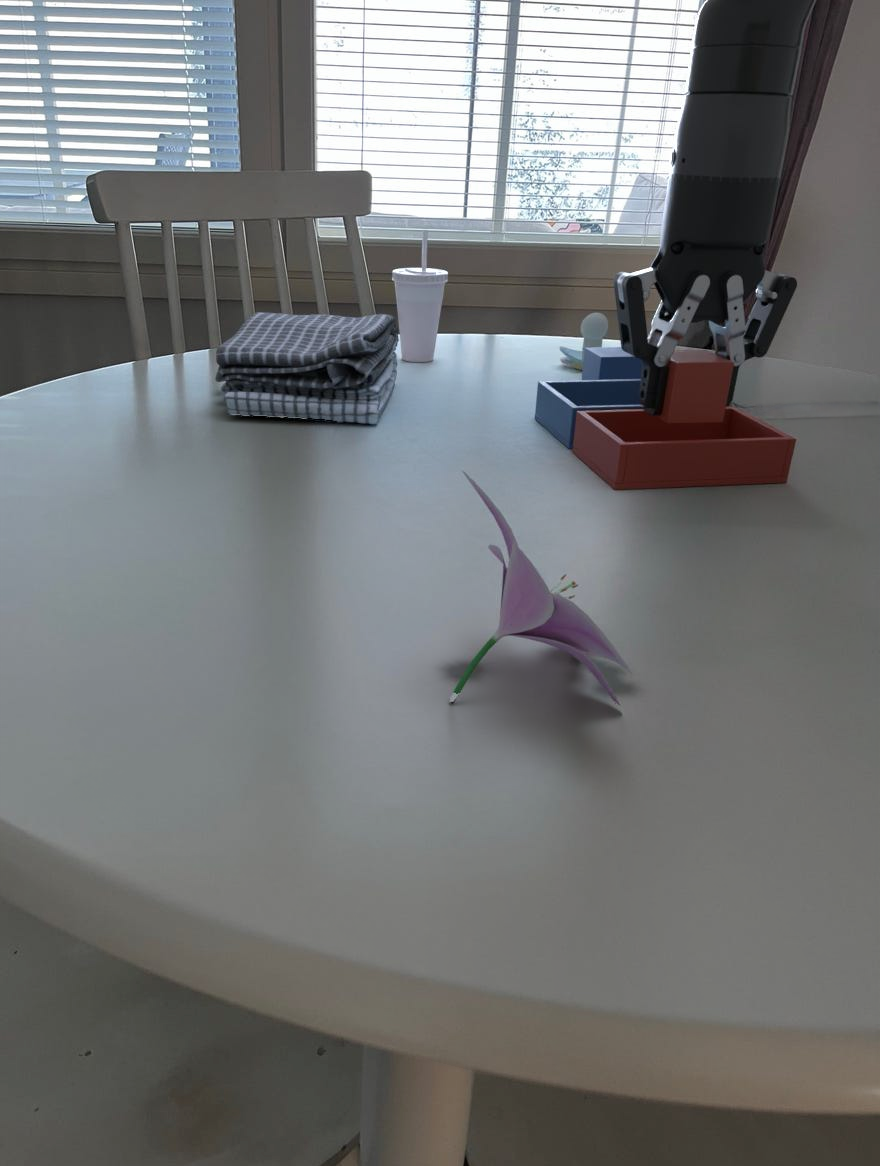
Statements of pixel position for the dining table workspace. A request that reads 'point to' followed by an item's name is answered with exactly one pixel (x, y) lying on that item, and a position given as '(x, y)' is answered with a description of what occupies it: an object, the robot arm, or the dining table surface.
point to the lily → (541, 610)
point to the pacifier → (587, 339)
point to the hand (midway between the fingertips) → (683, 411)
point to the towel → (310, 366)
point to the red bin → (681, 450)
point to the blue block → (610, 364)
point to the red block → (696, 387)
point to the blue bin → (581, 402)
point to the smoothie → (419, 307)
